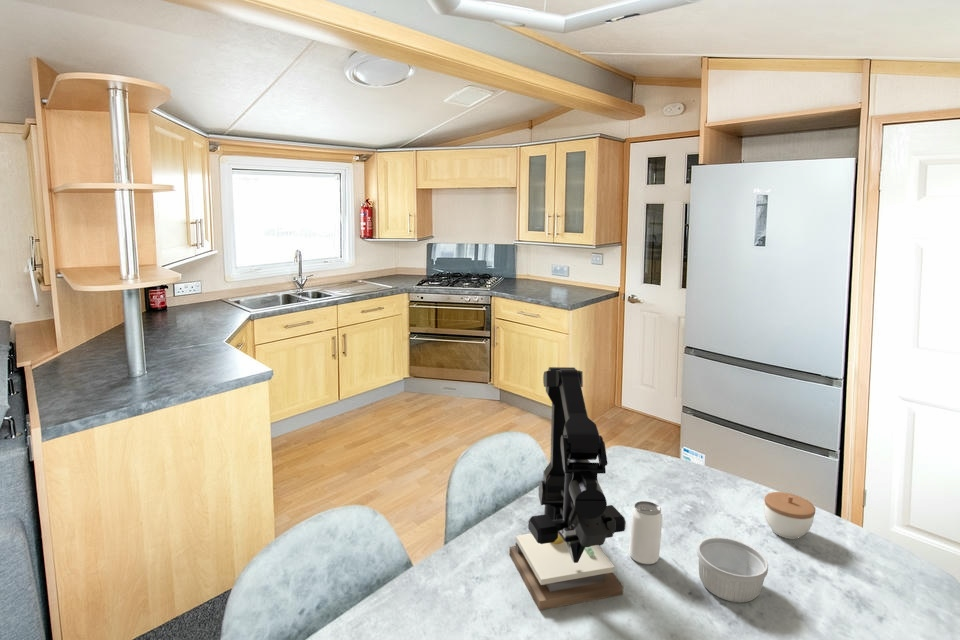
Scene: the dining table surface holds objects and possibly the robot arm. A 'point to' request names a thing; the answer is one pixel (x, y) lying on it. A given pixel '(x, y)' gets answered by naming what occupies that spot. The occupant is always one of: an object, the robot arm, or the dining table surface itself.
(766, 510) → the lidded jar
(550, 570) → the plate
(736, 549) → the ramekin
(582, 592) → the walnut base
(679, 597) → the dining table surface
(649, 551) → the can
